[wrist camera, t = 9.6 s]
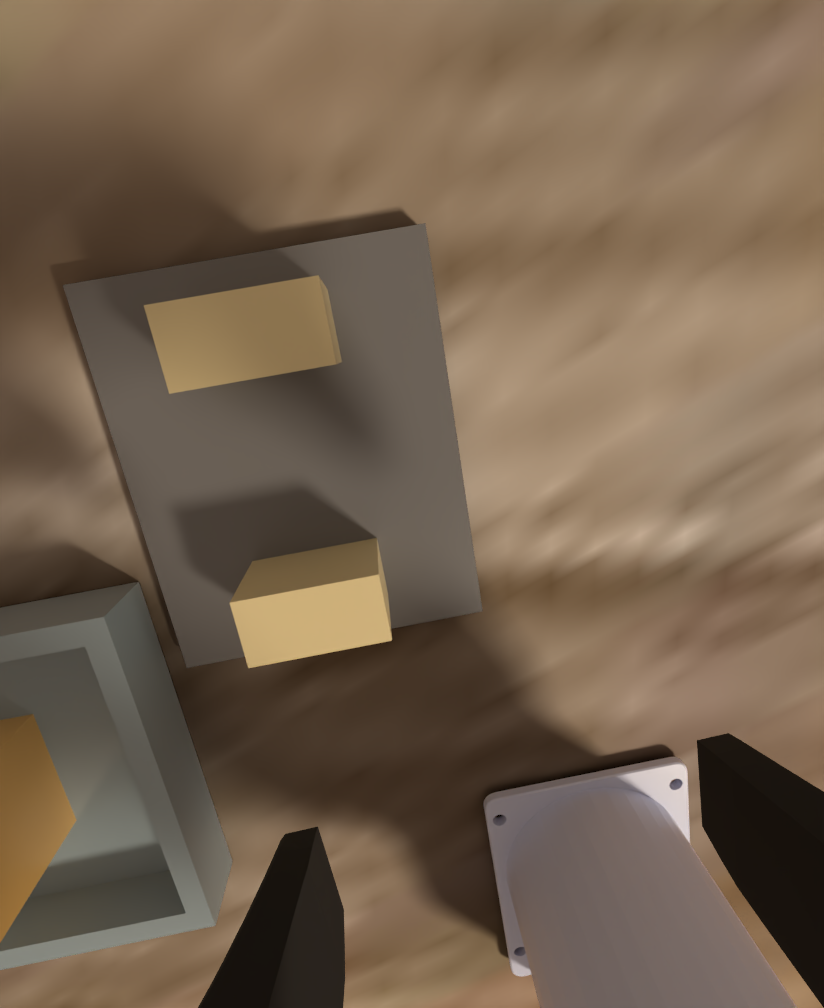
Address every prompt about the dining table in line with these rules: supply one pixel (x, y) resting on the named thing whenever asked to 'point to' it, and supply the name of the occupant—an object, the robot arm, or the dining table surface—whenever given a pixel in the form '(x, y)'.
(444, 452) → the panel
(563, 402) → the dining table surface
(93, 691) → the parts tray
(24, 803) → the block
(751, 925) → the dining table surface
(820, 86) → the dining table surface
